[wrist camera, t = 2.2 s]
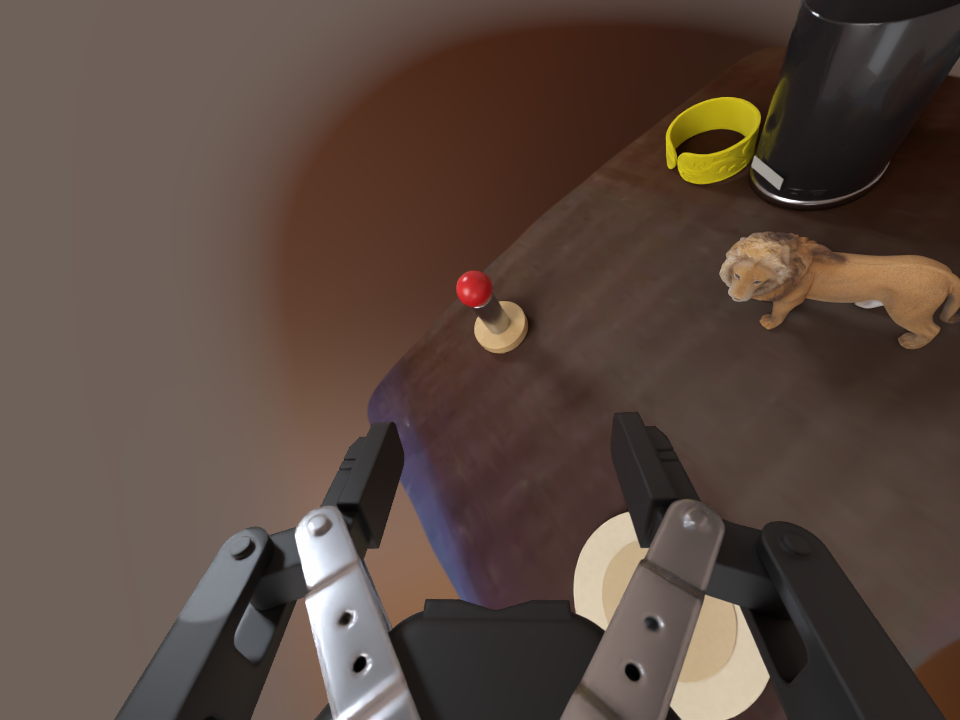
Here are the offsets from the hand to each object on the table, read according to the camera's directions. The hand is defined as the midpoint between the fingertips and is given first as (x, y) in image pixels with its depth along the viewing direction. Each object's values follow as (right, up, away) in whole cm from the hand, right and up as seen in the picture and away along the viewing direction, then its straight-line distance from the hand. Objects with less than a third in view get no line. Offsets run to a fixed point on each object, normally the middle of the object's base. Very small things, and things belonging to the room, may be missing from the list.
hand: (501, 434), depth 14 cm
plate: (+12, -14, +12) cm, 22 cm away
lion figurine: (+25, +6, +15) cm, 30 cm away
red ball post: (+2, +6, +26) cm, 26 cm away
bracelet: (+23, +24, +25) cm, 42 cm away
